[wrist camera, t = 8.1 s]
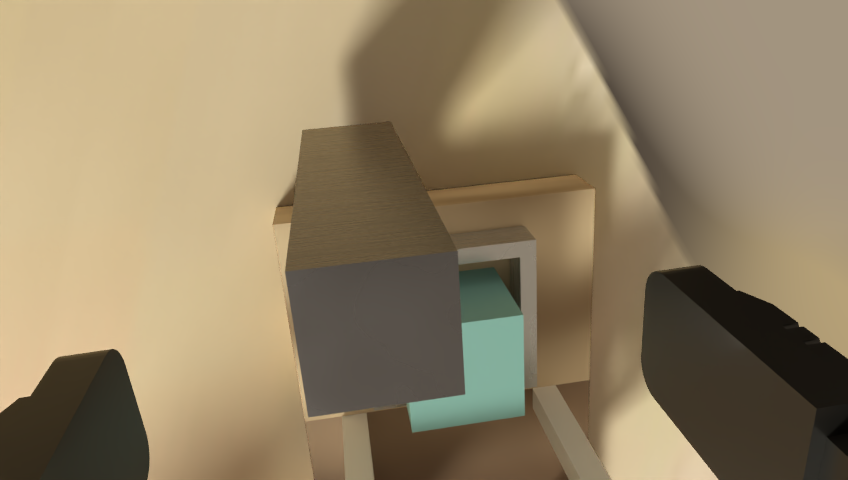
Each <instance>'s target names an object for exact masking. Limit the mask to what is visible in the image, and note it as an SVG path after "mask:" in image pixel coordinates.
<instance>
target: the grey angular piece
mask: <svg viewBox="0 0 848 480" xmlns="http://www.w3.org/2000/svg"><path fill="white" fill-rule="evenodd" d="M501 259H509V262H510V294H511V296H512V297H513V299H514V301H515V302H516V304H517V305H518V307H519V309H520V310H521V312H522V313H523V319H524V389H526V388H533V387H537V273H536V239H535V238H534V236H533V235H532V234H531V233H530V232H529V231H528V229H527V228H526V227H525V226H516V227H507V228H499V229H490V230H482V231H473V232H465V233H457V234H449V233H448V231H447V229H446V227H445V225H444V224H443V222H442V220H441V218H440V216H439V214H438V212H437V210H436V208H435V206H434V204H433V202H432V201H431V199H430V197H429V195H428V193H427V191H426V189H425V187H424V185H423V183H422V181H421V179H420V178H419V176H418V174H417V172H416V170H415V168H414V166H413V164H412V162H411V160H410V158H409V156H408V155H407V153H406V151H405V149H404V147H403V145H402V143H401V141H400V139H399V137H398V135H397V134H396V132H395V130H394V128H393V126H392V124H391V122H381V123H370V124H360V125H350V126H339V127H329V128H319V129H309V130H302V138H301V146H300V154H299V162H298V170H297V178H296V186H295V194H294V202H293V210H292V218H291V226H290V234H289V242H288V250H287V258H286V266H285V276H286V282H287V288H288V294H289V301H290V307H291V313H292V319H293V325H294V332H295V338H296V344H297V350H298V357H299V363H300V369H301V375H302V381H303V388H304V394H305V400H306V406H307V413H308V417H315V416H322V415H329V414H336V413H343V412H349V411H356V410H363V409H370V408H374V411H376V410H383V409H390V408H396V407H403V406H407V405H406V403H411V402H418V401H425V400H432V399H439V398H445V397H452V396H459V395H465V378H464V359H463V340H462V322H461V303H460V284H459V265H461V264H469V263H477V262H485V261H493V260H501Z"/></svg>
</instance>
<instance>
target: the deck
mask: <svg viewBox="0 0 848 480" xmlns="http://www.w3.org/2000/svg"><path fill="white" fill-rule="evenodd" d="M427 193H428V195H429V197H430V199H431V201H432V202H433V204H434V206H435V208H436V210H437V212H438V214H439V216H440V218H441V220H442V222H443V224H444V225H445V227H446V229H447V231H448V233H449V234H457V233H465V232H473V231H482V230H490V229H499V228H507V227H516V226H525V227H526V228H527V229H528V231H529V232H530V233H531V234H532V235H533V236H534V238H535V239H536V273H537V387H533V388H538V387H545V386H552V385H556V387H557V388H558V390H559V392H560V393H561V395H562V397H563V399H564V400H565V402H566V404H567V405H568V407H569V409H570V410H571V412H572V414H573V415H574V417H575V419H576V420H577V422H578V424H579V426H580V427H581V429H582V431H583V432H584V434H585V436H586V437H587V439H588V418H589V383H590V349H591V315H592V280H593V246H594V212H595V188H594V187H592V186H591V185H590V184H588V183H587V182H586V181H584V180H583V179H581V178H580V177H579V176H577V175H567V176H558V177H549V178H540V179H531V180H522V181H513V182H504V183H495V184H485V185H476V186H467V187H458V188H449V189H440V190H431V191H427ZM292 210H293V206H285V207H276V211H275V216H274V221H273V230H274V236H275V242H276V248H277V254H278V260H279V266H280V273H281V279H282V285H283V291H284V297H285V303H286V309H287V315H288V322H289V328H290V334H291V340H292V346H293V352H294V358H295V364H296V370H297V377H298V383H299V389H300V395H301V401H302V407H303V413H304V419H305V425H306V432H307V438H308V444H309V450H310V456H311V462H312V468H313V474H314V480H345V465H344V445H343V426H342V416H347V415H354V414H361V413H367V421H368V429H369V437H370V445H371V454H372V462H373V470H374V479H375V480H569V479H568V477H567V475H566V473H565V471H564V469H563V467H562V465H561V463H560V461H559V459H558V457H557V455H556V453H555V451H554V449H553V447H552V445H551V443H550V441H549V439H548V437H547V435H546V433H545V432H544V430H543V428H542V426H541V424H540V422H539V420H538V418H537V416H536V414H535V412H534V410H533V388H526V389H524V390H525V416H520V417H513V418H506V419H500V420H493V421H487V422H480V423H473V424H467V425H460V426H453V427H447V428H440V429H434V430H427V431H420V432H414V433H412V429H411V424H410V419H409V414H408V410H407V406H403V407H396V408H390V409H383V410H376V411H374V408H370V409H363V410H356V411H349V412H343V413H336V414H329V415H322V416H315V417H308V413H307V406H306V400H305V394H304V388H303V381H302V375H301V369H300V363H299V357H298V350H297V344H296V338H295V332H294V325H293V319H292V313H291V307H290V301H289V294H288V288H287V282H286V276H285V266H286V258H287V250H288V242H289V234H290V226H291V218H292ZM490 267H494V268H495V270H496V271H497V273H498V275H499V276H500V278H501V280H502V281H503V283H504V284H505V286H506V288H507V289H508V291H509V292H510V262H509V259H501V260H493V261H485V262H477V263H469V264H461V265H459V271H466V270H474V269H482V268H490Z"/></svg>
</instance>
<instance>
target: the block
mask: <svg viewBox="0 0 848 480" xmlns="http://www.w3.org/2000/svg"><path fill="white" fill-rule="evenodd" d="M459 284H460V303H461V322H462V340H463V359H464V378H465V395H459V396H452V397H445V398H439V399H432V400H425V401H418V402H411V403H406V405H407V410H408V414H409V419H410V424H411V429H412V433H414V432H420V431H427V430H434V429H440V428H447V427H453V426H460V425H467V424H473V423H480V422H487V421H493V420H500V419H506V418H513V417H520V416H525V390H524V319H523V313H522V312H521V310H520V309H519V307H518V305H517V304H516V302H515V301H514V299H513V297H512V296H511V294H510V292H509V291H508V289H507V288H506V286H505V284H504V283H503V281H502V280H501V278H500V276H499V275H498V273H497V271H496V270H495V268H494V267H490V268H482V269H474V270H466V271H459Z"/></svg>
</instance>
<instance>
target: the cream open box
mask: <svg viewBox="0 0 848 480" xmlns="http://www.w3.org/2000/svg"><path fill="white" fill-rule="evenodd" d="M533 410H534V412H535V414H536V416H537V418H538V420H539V422H540V424H541V426H542V428H543V430H544V432H545V433H546V435H547V437H548V439H549V441H550V443H551V445H552V447H553V449H554V451H555V453H556V455H557V457H558V459H559V461H560V463H561V465H562V467H563V469H564V471H565V473H566V475H567V477H568V479H569V480H611V478H610V476H609V475H608V473H607V471H606V469H605V468H604V466H603V464H602V463H601V461H600V459H599V458H598V456H597V454H596V453H595V451H594V449H593V448H592V446H591V444H590V442H589V441H588V439H587V437H586V436H585V434H584V432H583V431H582V429H581V427H580V426H579V424H578V422H577V420H576V419H575V417H574V415H573V414H572V412H571V410H570V409H569V407H568V405H567V404H566V402H565V400H564V399H563V397H562V395H561V393H560V392H559V390H558V388H557V387H556V385H552V386H545V387H538V388H533ZM342 426H343V445H344V465H345V480H375V479H374V470H373V462H372V454H371V445H370V437H369V429H368V421H367V413H361V414H354V415H347V416H342Z"/></svg>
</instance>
